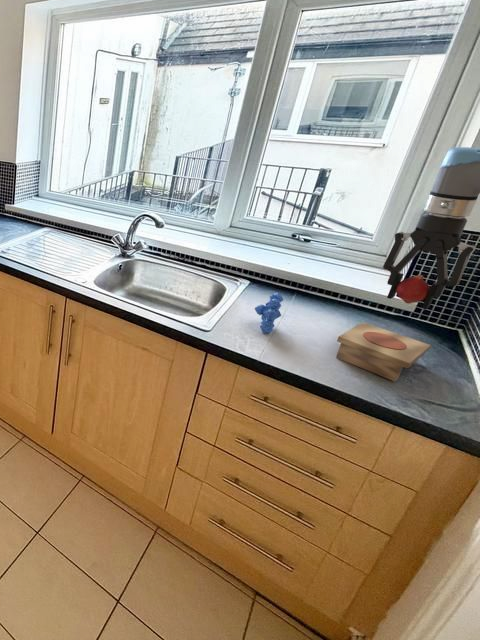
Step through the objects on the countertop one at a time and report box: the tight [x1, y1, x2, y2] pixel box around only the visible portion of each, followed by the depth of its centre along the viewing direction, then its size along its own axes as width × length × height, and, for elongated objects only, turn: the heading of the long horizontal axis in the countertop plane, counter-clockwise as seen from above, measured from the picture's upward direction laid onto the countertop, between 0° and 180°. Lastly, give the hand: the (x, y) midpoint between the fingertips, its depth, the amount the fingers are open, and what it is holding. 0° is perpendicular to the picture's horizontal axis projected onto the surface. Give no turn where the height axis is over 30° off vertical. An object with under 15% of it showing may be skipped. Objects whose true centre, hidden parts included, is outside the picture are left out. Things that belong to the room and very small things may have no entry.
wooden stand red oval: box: [335, 321, 432, 382], centre depth 111 cm, size 14×16×6 cm
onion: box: [396, 274, 431, 305], centre depth 106 cm, size 6×6×8 cm
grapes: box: [254, 292, 284, 334], centre depth 124 cm, size 12×7×12 cm, turn 140°
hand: (407, 302), depth 107 cm, fingers closed on onion, 6 cm apart
